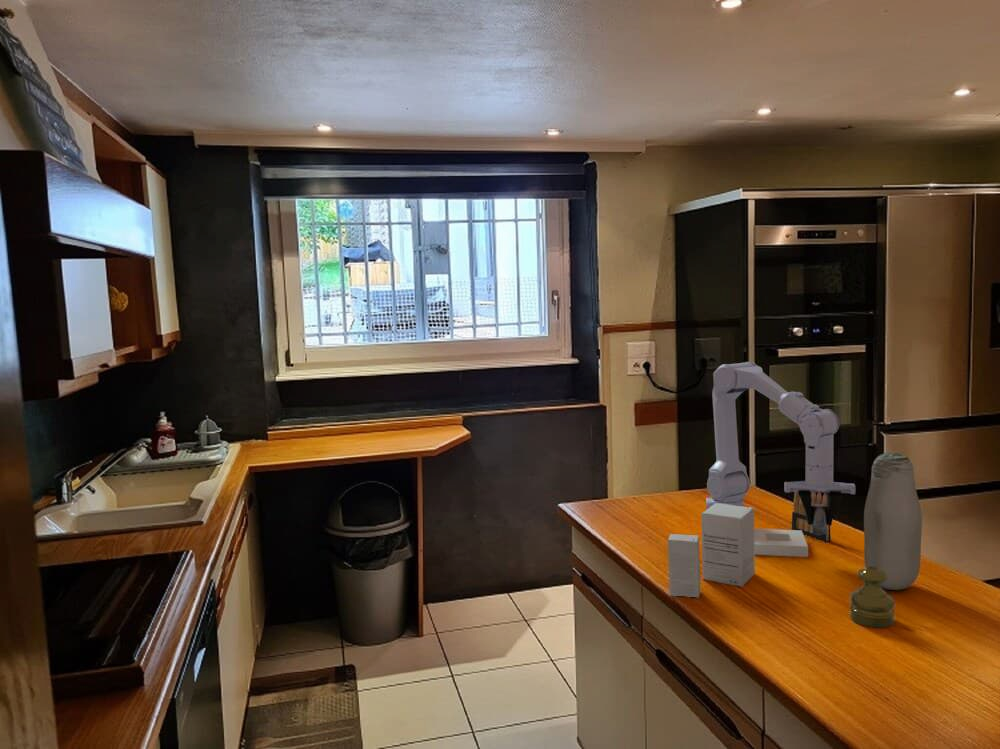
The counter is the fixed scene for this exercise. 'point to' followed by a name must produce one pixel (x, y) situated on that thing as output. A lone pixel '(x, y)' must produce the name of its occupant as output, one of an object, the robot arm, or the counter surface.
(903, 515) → the grey bottle
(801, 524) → the ammunition clip
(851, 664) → the counter surface
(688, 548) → the skincare box
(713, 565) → the supplement box
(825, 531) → the metal peg
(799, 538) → the socket block
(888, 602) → the olive green knobbed piece
